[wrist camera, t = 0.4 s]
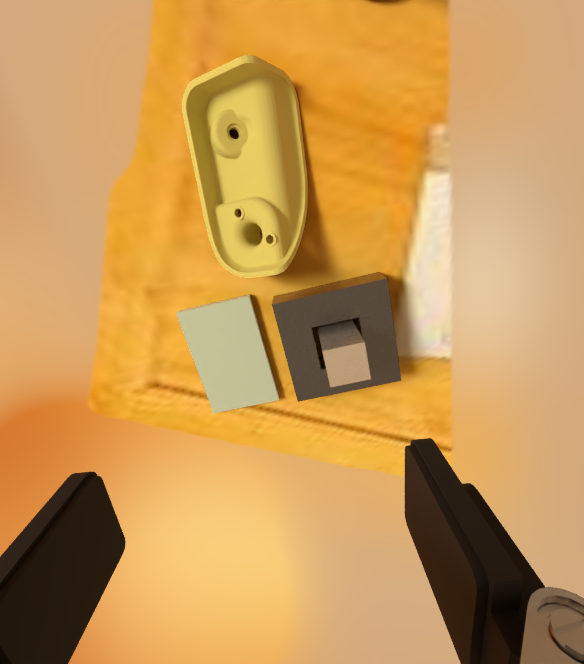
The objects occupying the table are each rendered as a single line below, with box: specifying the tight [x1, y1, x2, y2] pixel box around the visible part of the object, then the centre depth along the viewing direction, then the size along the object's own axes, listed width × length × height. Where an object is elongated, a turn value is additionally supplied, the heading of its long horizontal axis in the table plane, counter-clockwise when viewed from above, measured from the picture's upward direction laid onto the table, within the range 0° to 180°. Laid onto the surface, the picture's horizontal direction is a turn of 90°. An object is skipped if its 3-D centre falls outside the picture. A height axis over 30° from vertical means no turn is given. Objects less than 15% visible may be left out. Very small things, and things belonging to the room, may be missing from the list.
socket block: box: [272, 272, 401, 401], centre depth 43 cm, size 14×14×4 cm
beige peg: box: [317, 319, 371, 388], centre depth 40 cm, size 5×5×10 cm
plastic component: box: [182, 55, 308, 278], centre depth 36 cm, size 20×7×10 cm
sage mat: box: [176, 294, 279, 413], centre depth 45 cm, size 16×10×1 cm, turn 13°
